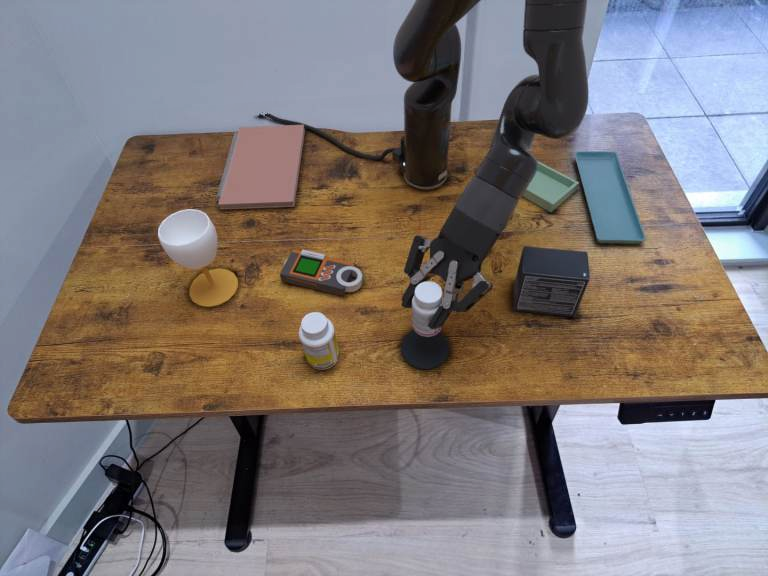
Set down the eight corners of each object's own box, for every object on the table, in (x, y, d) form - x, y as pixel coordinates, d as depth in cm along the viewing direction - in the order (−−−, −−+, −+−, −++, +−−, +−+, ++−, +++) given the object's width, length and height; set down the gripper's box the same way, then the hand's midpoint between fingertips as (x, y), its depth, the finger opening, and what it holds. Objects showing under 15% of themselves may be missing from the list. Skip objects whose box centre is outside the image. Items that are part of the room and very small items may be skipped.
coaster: (391, 349, 85) (391, 347, 85) (423, 320, 89) (424, 319, 88) (426, 379, 82) (426, 377, 81) (458, 348, 85) (459, 347, 84)
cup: (185, 278, 97) (151, 217, 84) (232, 263, 99) (206, 201, 86) (194, 314, 91) (159, 254, 79) (243, 297, 93) (217, 236, 81)
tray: (506, 187, 109) (508, 179, 107) (532, 167, 112) (534, 159, 111) (550, 212, 104) (553, 204, 102) (576, 190, 107) (579, 182, 106)
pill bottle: (440, 339, 78) (442, 307, 71) (409, 335, 78) (408, 302, 72) (444, 314, 80) (447, 281, 74) (414, 310, 81) (414, 277, 75)
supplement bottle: (323, 336, 87) (314, 301, 79) (346, 354, 85) (340, 319, 77) (299, 358, 85) (288, 324, 77) (323, 377, 82) (314, 344, 74)
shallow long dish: (643, 247, 97) (648, 238, 95) (594, 247, 97) (598, 238, 95) (613, 160, 113) (616, 151, 111) (571, 160, 113) (573, 150, 111)
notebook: (236, 133, 125) (234, 126, 123) (305, 130, 124) (303, 123, 123) (215, 210, 108) (212, 203, 106) (294, 207, 108) (292, 200, 106)
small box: (573, 289, 91) (589, 249, 83) (575, 318, 87) (592, 280, 79) (513, 282, 93) (523, 243, 85) (512, 311, 89) (523, 273, 81)
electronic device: (355, 291, 90) (277, 272, 92) (356, 300, 92) (280, 282, 95) (367, 263, 94) (291, 245, 96) (367, 273, 96) (293, 255, 99)
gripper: (428, 188, 71) (371, 290, 76) (512, 239, 64) (443, 348, 69) (452, 197, 77) (397, 291, 82) (530, 245, 71) (466, 344, 75)
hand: (419, 316), depth 75 cm, fingers closed on pill bottle, 4 cm apart
